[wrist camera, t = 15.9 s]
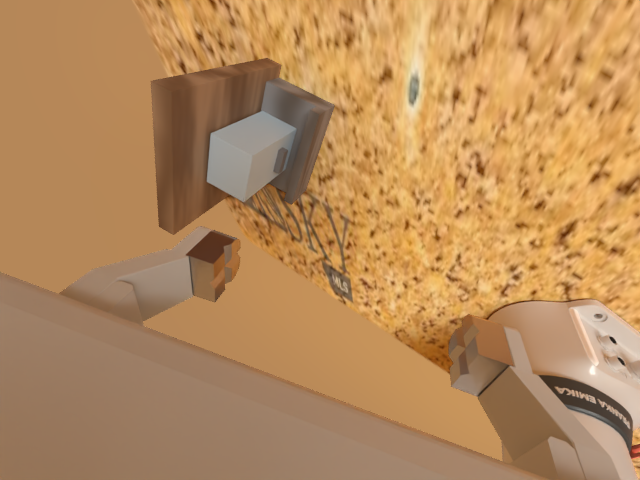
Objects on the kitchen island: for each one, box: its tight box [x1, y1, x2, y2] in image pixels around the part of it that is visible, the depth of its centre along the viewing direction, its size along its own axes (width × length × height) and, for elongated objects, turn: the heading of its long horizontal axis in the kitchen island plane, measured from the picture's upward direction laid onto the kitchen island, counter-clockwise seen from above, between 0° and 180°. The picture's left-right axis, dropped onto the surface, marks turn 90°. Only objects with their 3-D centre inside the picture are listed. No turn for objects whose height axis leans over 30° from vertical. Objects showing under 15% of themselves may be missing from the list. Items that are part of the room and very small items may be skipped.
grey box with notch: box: [207, 111, 297, 202], centre depth 37 cm, size 6×6×10 cm
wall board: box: [151, 58, 335, 235], centre depth 36 cm, size 10×16×18 cm, turn 161°
